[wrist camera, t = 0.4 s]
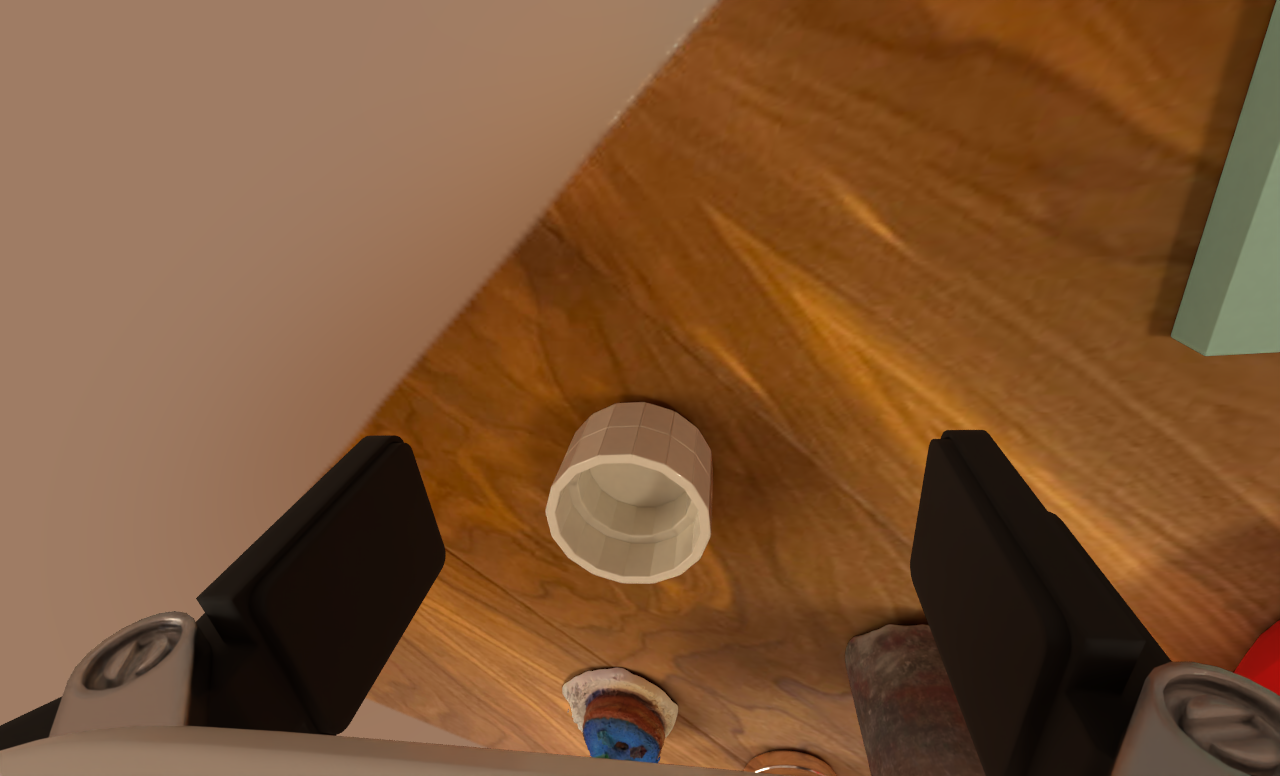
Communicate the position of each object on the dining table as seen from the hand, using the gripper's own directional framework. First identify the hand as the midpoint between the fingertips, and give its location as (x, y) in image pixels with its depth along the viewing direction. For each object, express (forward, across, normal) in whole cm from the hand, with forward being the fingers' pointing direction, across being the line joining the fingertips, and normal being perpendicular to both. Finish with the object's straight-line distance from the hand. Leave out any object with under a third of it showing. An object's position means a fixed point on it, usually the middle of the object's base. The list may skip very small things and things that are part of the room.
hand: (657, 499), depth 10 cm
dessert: (+16, +7, +30) cm, 34 cm away
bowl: (+15, +3, +10) cm, 18 cm away
